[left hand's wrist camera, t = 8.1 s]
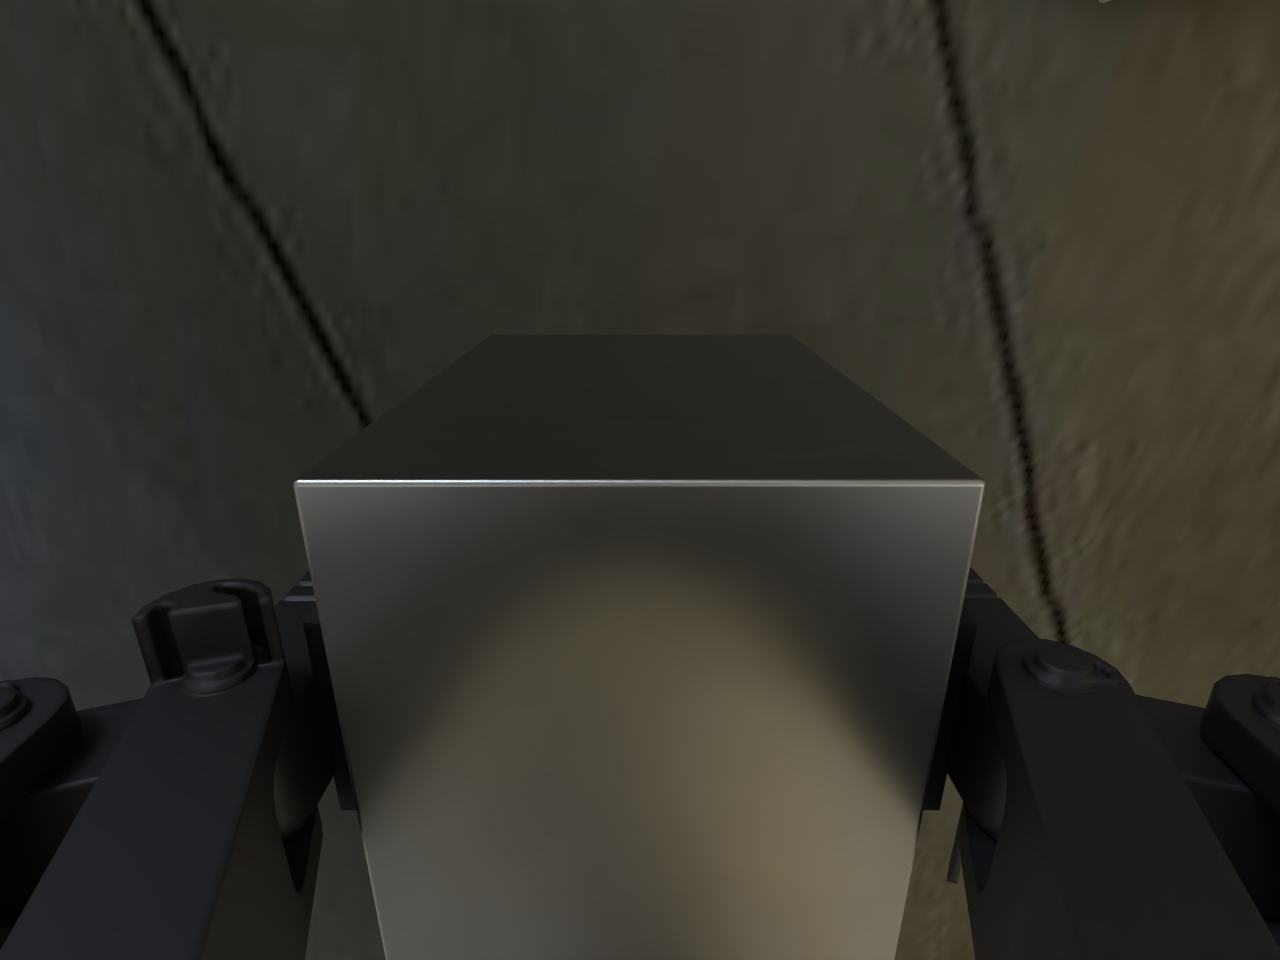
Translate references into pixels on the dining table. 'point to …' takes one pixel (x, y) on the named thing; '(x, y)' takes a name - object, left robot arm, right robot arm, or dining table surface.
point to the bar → (639, 649)
